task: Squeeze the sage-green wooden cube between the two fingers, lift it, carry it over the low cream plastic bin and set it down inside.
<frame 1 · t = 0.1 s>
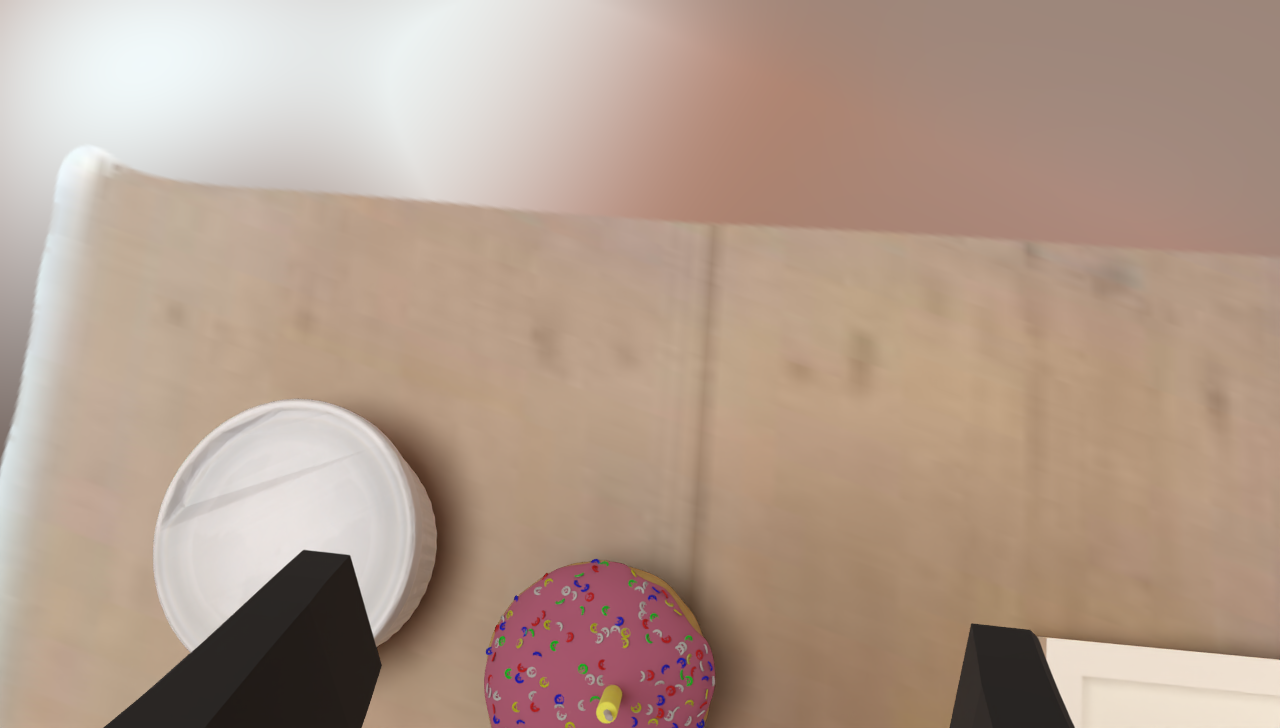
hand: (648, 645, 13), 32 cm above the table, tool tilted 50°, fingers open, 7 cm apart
cupcake: (619, 671, 44), on the table
ramekin: (340, 546, 47), on the table
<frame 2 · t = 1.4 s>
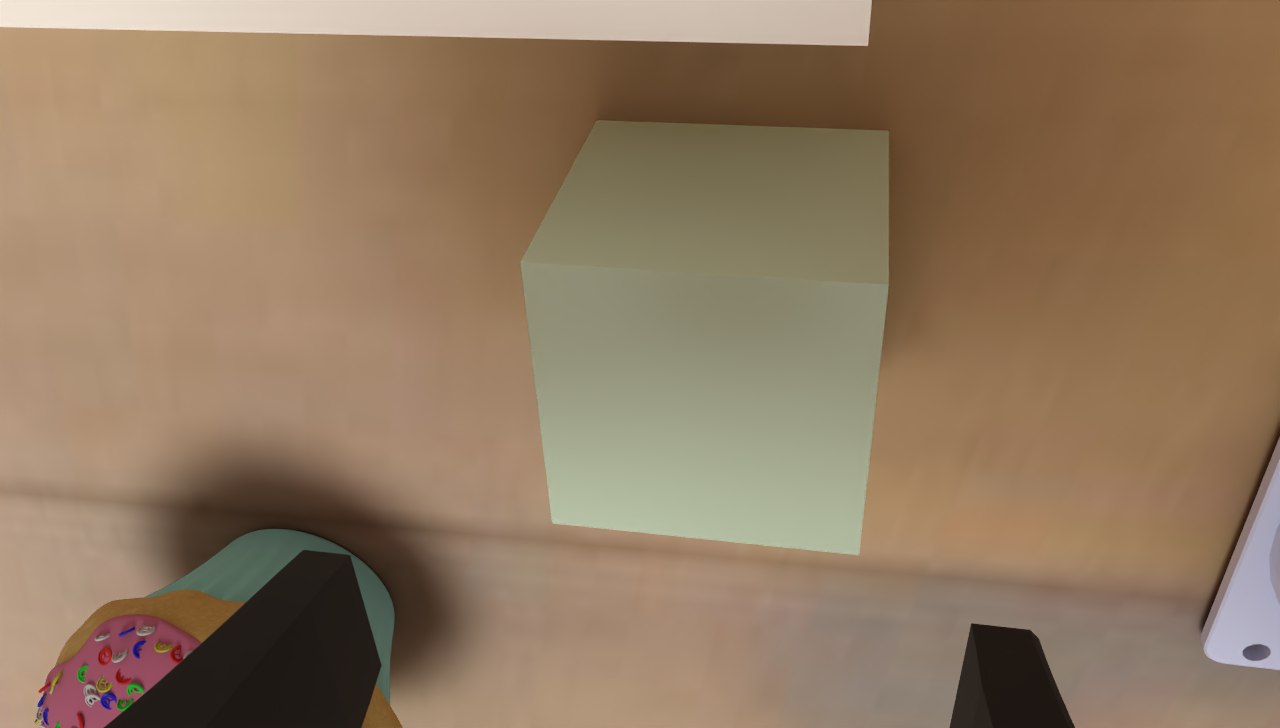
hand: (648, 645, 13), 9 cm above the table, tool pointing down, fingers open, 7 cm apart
cupcake: (317, 589, 28), on the table
sage block: (738, 250, 20), on the table
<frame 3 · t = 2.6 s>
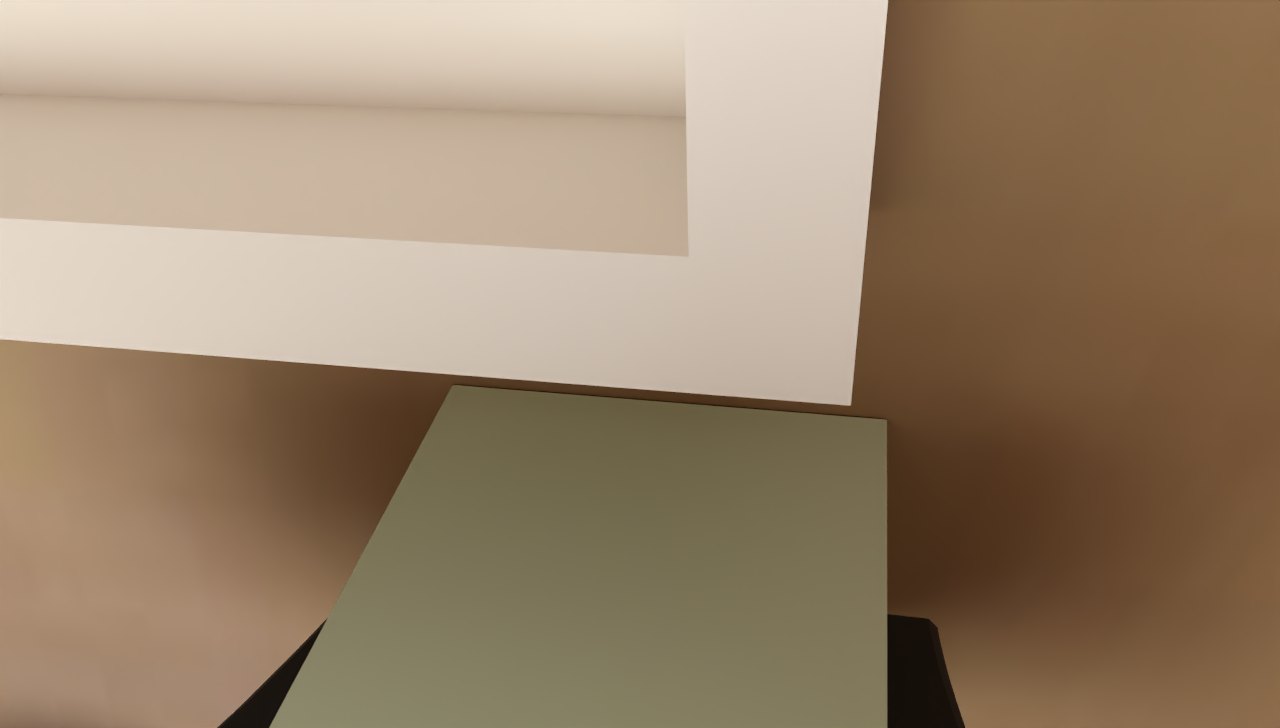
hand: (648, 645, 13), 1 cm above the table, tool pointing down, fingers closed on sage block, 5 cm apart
sage block: (668, 556, 14), on the table, touching gripper
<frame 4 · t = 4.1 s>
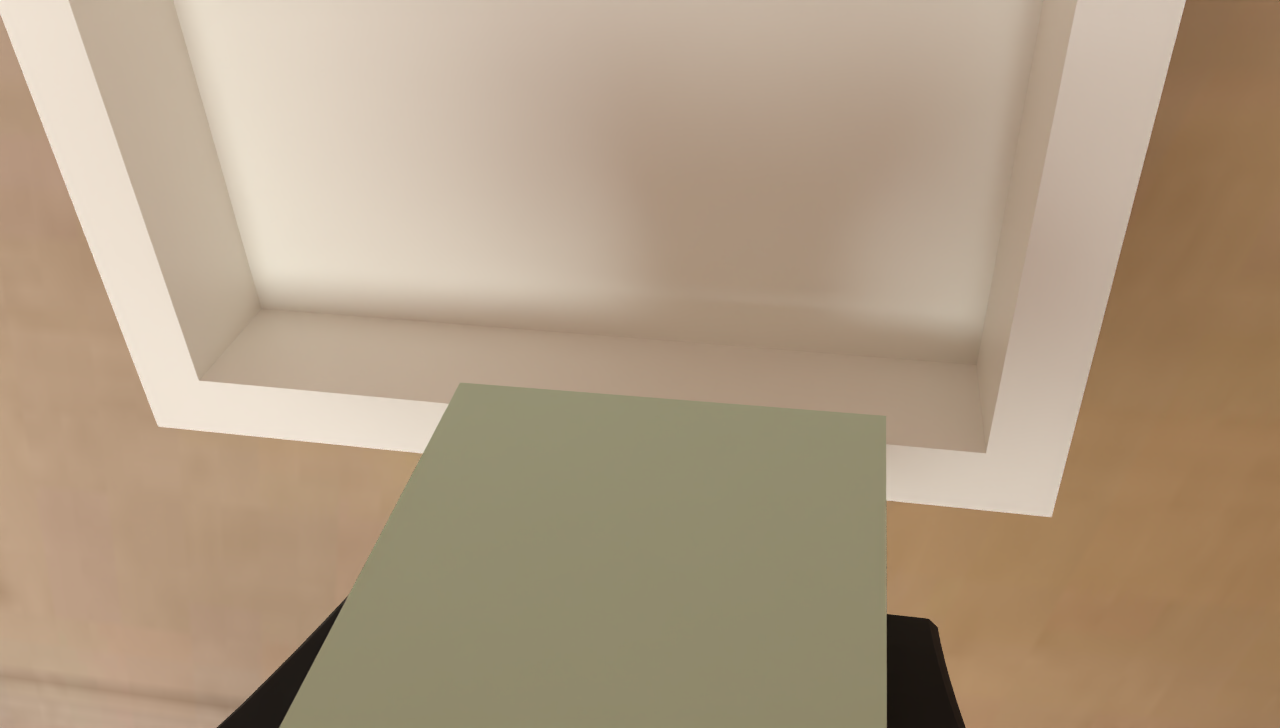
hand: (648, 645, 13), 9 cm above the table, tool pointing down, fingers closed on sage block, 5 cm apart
sage block: (671, 550, 14), point 7 cm above the table, touching gripper
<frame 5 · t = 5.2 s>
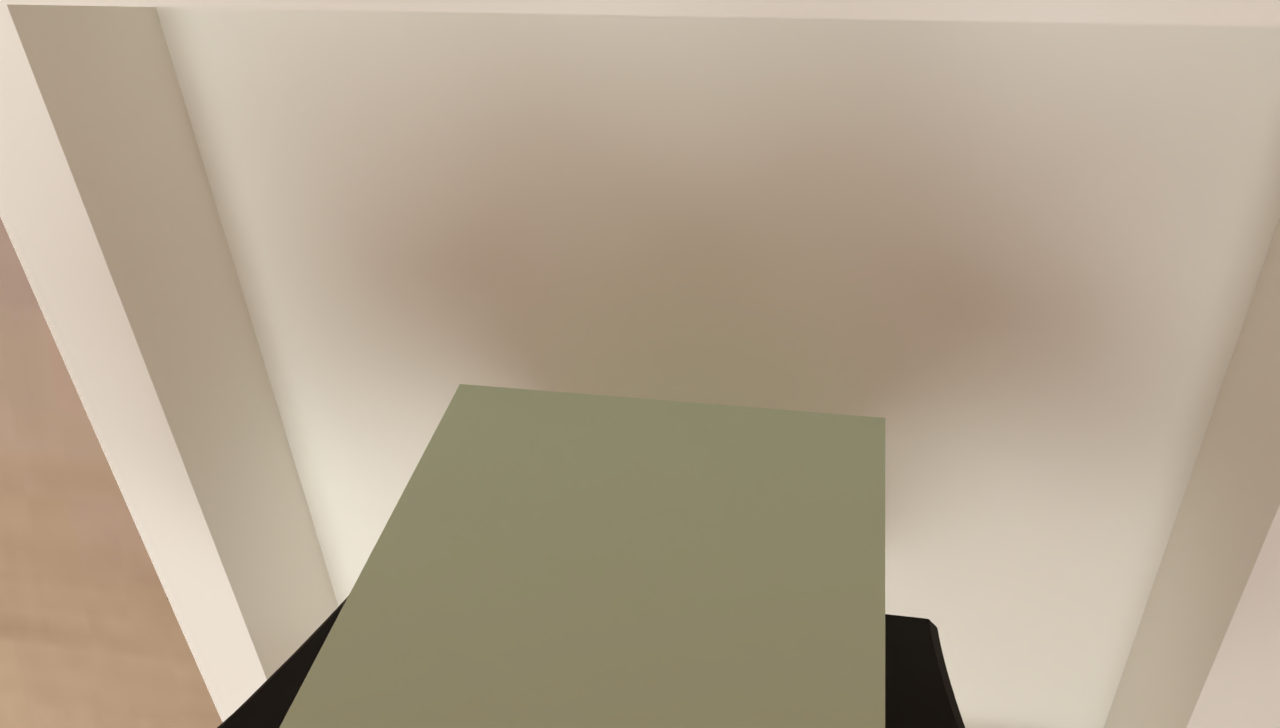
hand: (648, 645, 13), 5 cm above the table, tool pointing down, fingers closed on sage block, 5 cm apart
sage block: (670, 552, 14), point 3 cm above the table, touching gripper
cream bin: (704, 400, 16), on the table
when the fingers open (4 cm above the table, at t = 5.8 s): sage block drops 2 cm, resting on cream bin.
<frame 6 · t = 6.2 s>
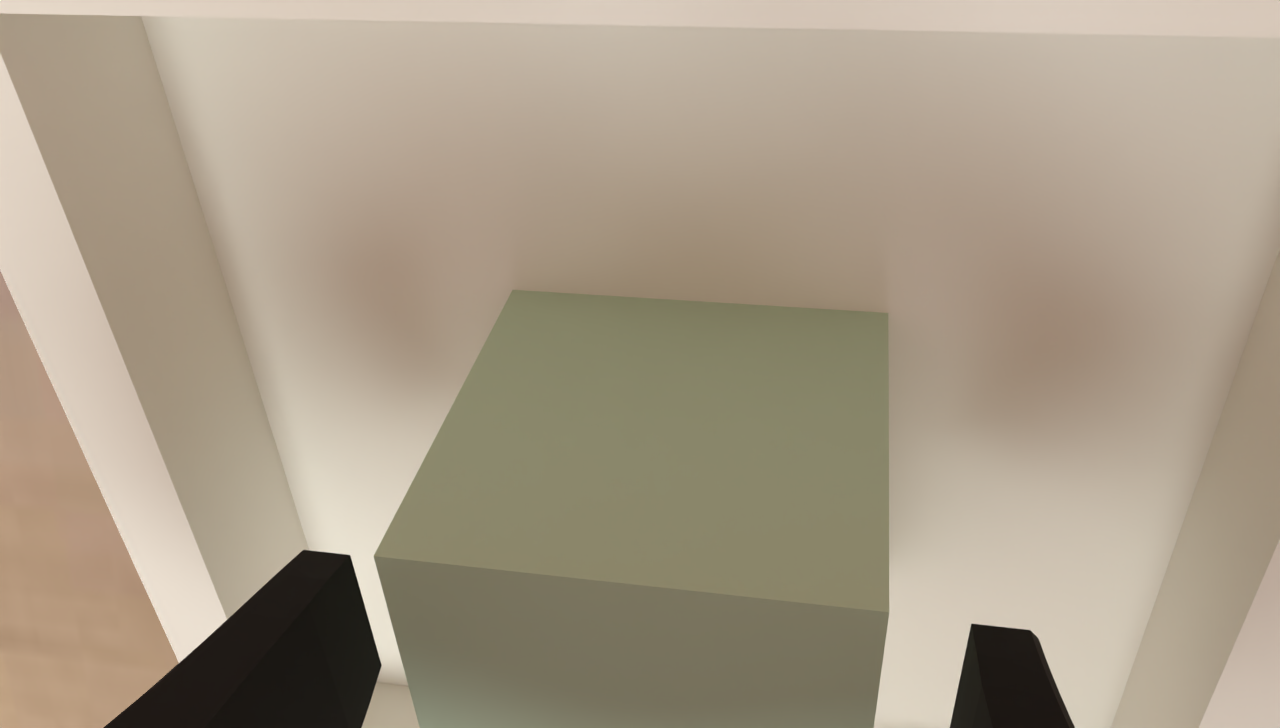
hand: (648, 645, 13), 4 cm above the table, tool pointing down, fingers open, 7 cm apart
sage block: (697, 445, 16), point 1 cm above the table, touching cream bin
cream bin: (700, 411, 16), on the table
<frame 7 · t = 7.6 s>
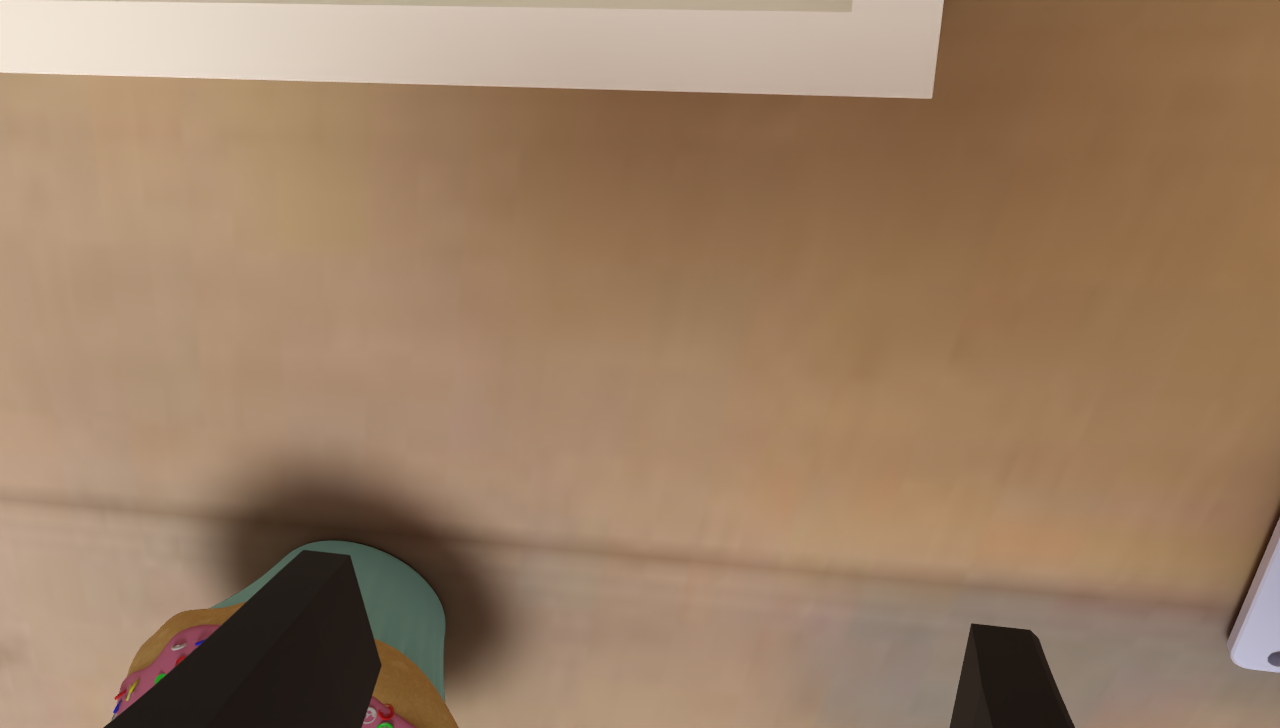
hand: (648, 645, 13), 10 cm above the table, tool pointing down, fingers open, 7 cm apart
cupcake: (370, 598, 29), on the table
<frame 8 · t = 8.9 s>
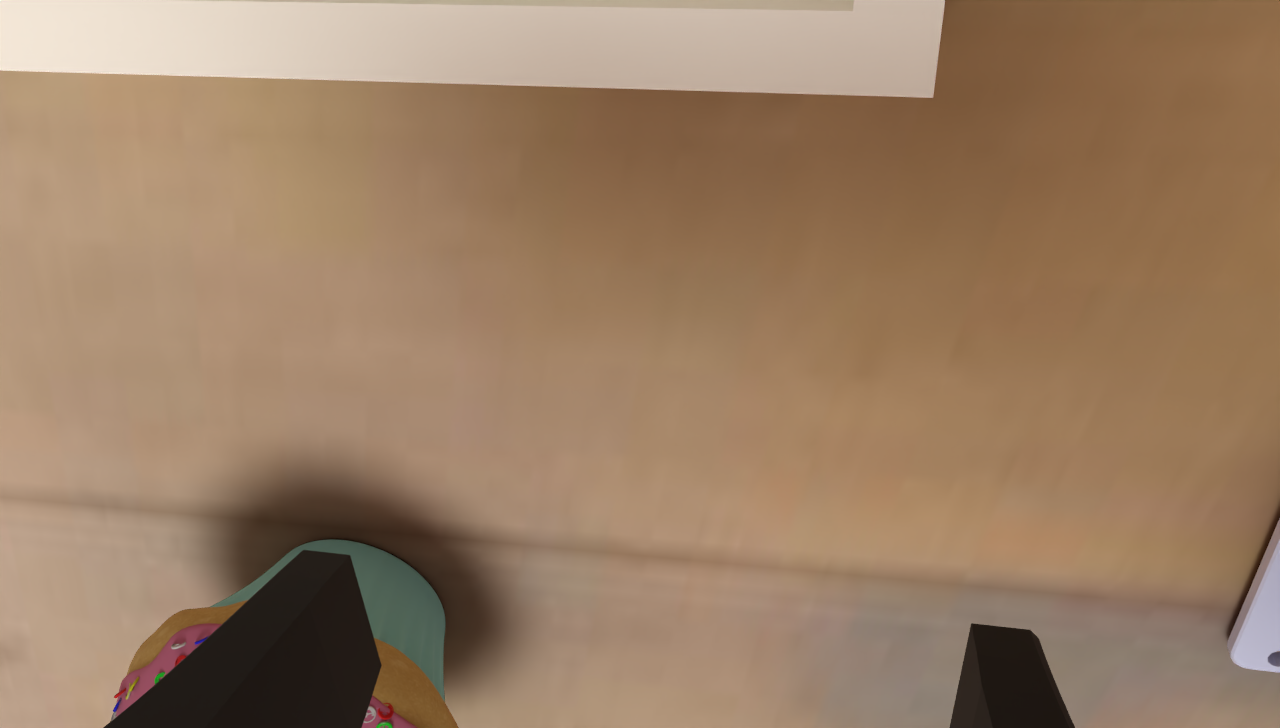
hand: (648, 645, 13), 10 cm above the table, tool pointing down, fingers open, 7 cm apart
cupcake: (370, 597, 29), on the table
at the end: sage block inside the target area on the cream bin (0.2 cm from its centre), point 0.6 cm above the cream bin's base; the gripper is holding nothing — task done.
